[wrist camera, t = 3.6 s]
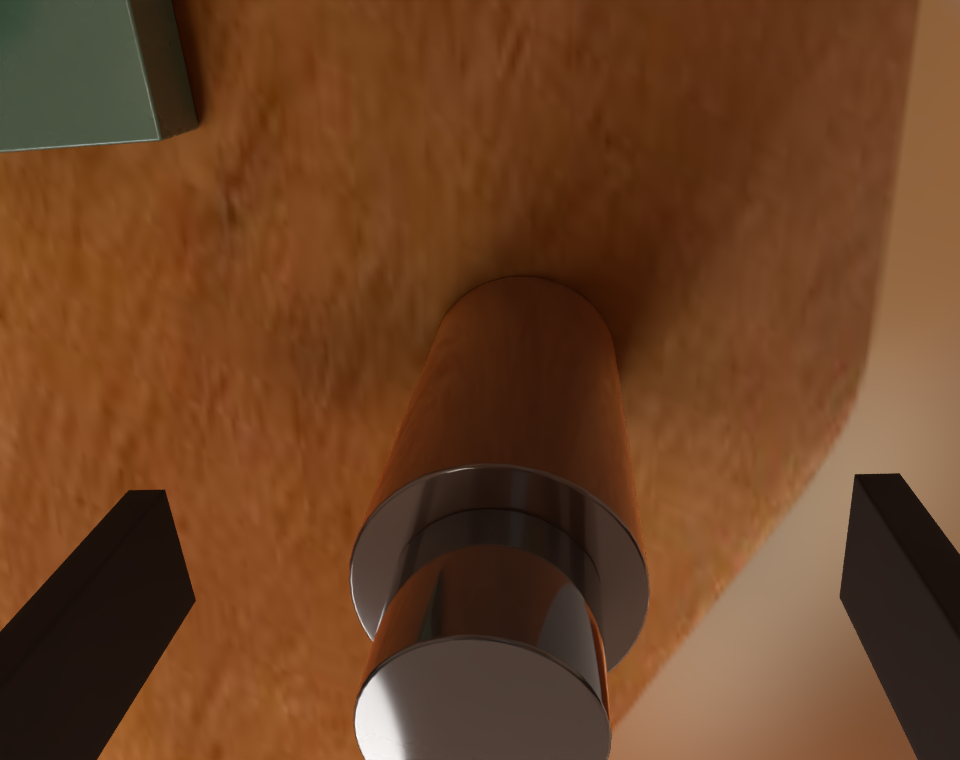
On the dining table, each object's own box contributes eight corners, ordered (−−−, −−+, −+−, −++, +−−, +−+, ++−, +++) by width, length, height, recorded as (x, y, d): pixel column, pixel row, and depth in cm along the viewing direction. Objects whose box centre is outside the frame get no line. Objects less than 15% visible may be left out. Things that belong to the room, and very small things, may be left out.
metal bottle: (614, 270, 22) (675, 586, 10) (616, 441, 24) (668, 868, 12) (422, 280, 22) (263, 587, 10) (441, 446, 24) (327, 855, 13)
